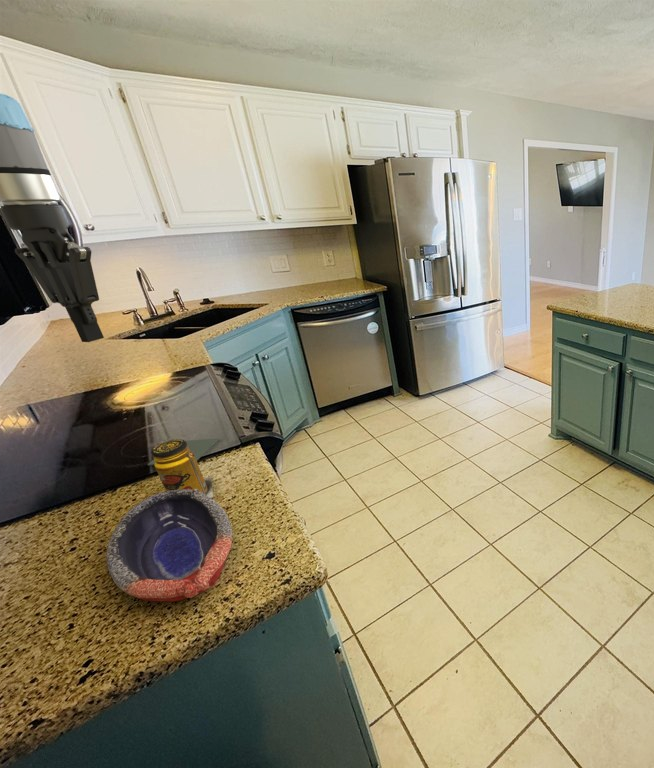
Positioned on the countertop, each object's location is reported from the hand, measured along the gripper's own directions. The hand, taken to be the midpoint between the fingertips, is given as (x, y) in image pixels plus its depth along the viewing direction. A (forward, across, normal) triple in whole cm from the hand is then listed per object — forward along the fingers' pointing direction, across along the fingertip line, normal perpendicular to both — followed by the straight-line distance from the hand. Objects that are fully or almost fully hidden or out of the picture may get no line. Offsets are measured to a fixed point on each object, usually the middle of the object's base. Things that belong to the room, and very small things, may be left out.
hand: (93, 339), depth 77 cm
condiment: (+31, -15, +5) cm, 35 cm away
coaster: (+30, 0, -8) cm, 31 cm away
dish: (+31, -27, +20) cm, 45 cm away
